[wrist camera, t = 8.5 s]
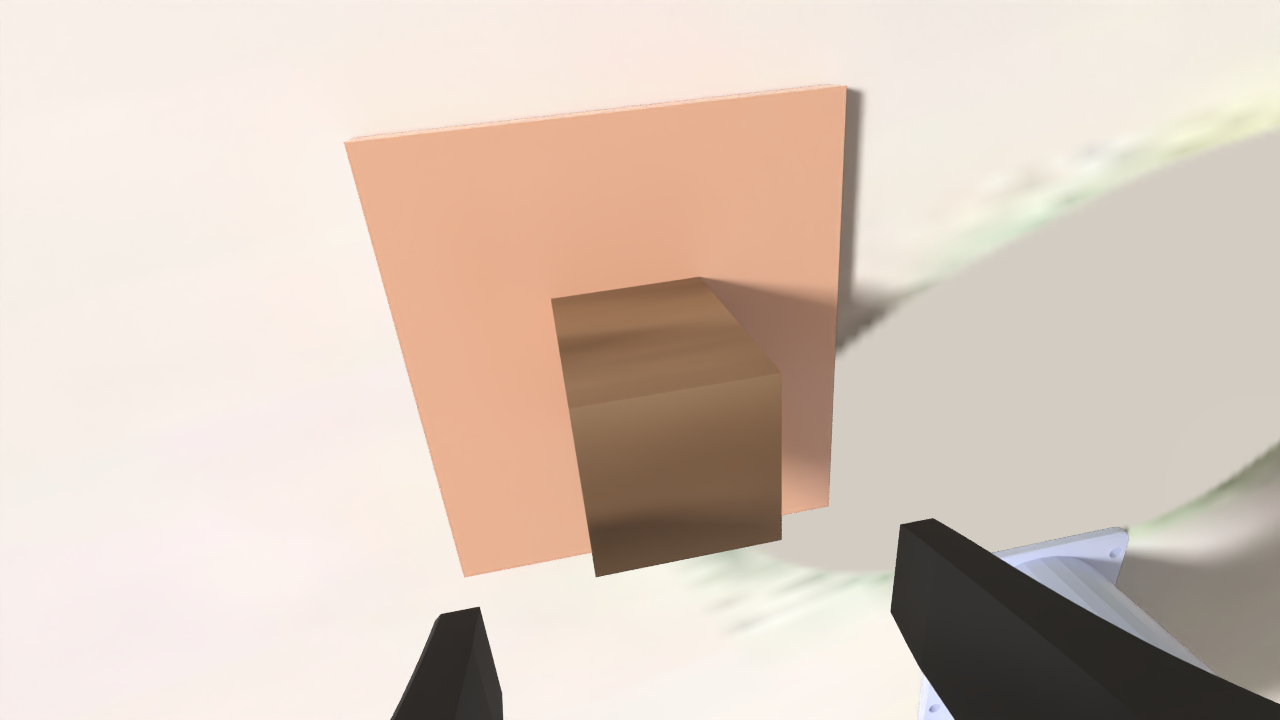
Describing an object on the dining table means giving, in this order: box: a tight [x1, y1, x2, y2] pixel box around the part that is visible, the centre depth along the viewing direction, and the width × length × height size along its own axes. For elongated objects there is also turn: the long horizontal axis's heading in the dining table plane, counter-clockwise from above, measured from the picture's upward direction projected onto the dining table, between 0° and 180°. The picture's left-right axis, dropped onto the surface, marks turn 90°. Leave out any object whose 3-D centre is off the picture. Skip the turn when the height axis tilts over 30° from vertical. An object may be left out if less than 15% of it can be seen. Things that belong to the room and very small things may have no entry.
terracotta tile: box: [344, 84, 847, 577], centre depth 19 cm, size 13×12×1 cm
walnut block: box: [551, 277, 782, 577], centre depth 15 cm, size 4×4×6 cm
